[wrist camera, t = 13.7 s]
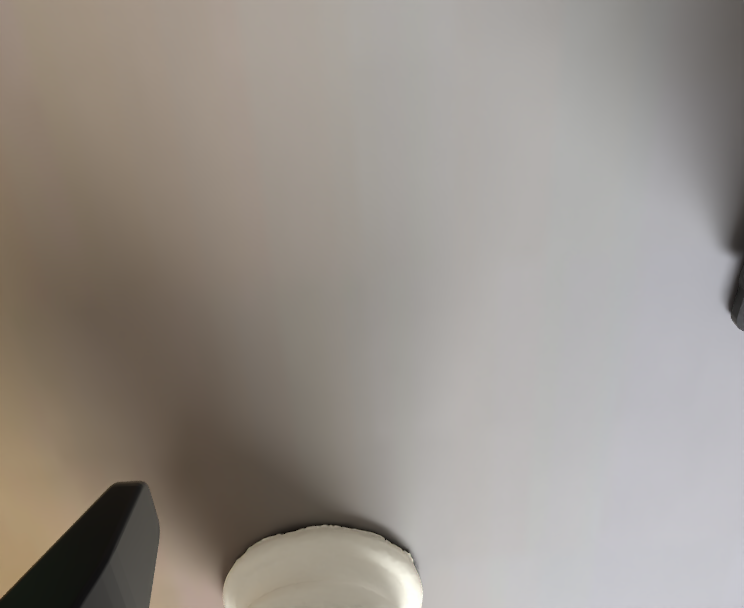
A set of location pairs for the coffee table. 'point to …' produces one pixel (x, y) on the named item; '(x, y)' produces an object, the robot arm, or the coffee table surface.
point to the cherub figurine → (323, 572)
